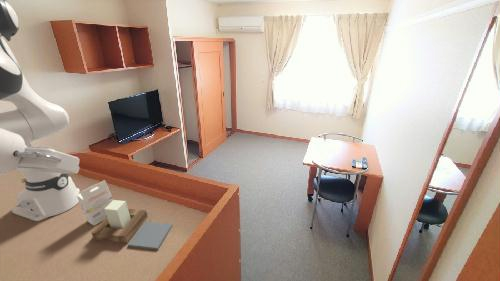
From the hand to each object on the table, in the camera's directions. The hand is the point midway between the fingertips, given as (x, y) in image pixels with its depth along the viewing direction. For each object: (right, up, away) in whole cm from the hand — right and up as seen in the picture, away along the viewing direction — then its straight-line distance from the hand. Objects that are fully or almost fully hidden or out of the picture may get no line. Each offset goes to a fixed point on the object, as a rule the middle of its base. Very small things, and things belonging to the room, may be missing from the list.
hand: (59, 169), depth 56 cm
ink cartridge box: (-8, -21, +29) cm, 37 cm away
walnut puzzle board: (+2, -23, +24) cm, 34 cm away
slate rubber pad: (+14, -25, +21) cm, 35 cm away
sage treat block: (+2, -23, +24) cm, 34 cm away
